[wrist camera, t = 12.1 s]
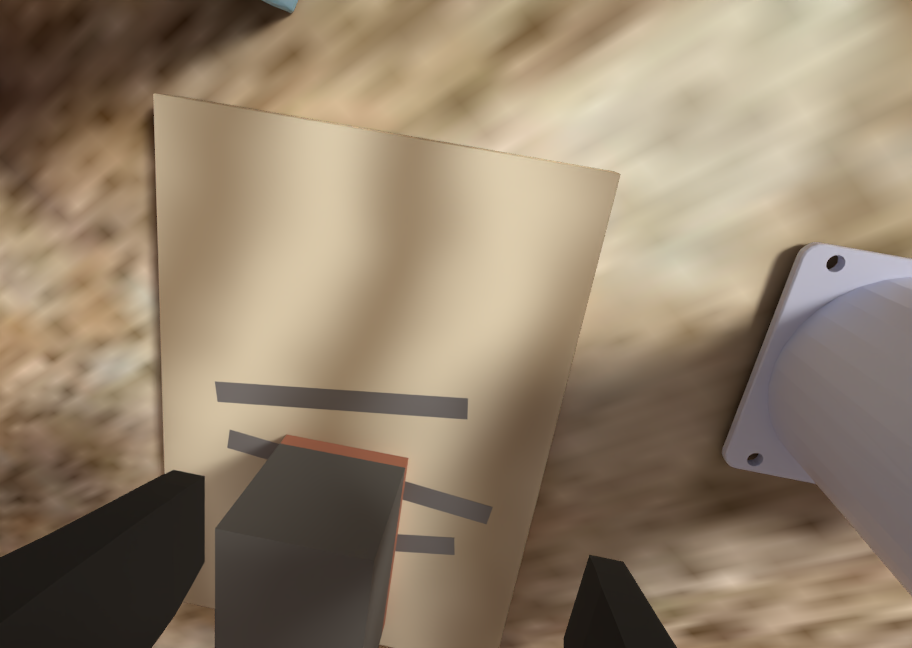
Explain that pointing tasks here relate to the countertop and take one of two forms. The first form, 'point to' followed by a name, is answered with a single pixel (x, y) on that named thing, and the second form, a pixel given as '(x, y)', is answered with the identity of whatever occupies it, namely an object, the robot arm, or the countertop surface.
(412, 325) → the board
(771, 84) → the countertop surface
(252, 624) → the block
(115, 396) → the countertop surface
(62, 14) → the countertop surface
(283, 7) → the gum box
